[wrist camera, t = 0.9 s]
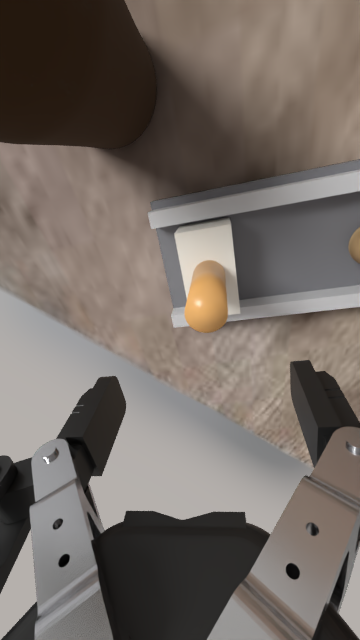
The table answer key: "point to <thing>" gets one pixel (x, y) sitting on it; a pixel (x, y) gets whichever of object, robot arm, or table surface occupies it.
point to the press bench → (275, 240)
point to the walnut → (355, 245)
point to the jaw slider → (208, 273)
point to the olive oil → (73, 74)
